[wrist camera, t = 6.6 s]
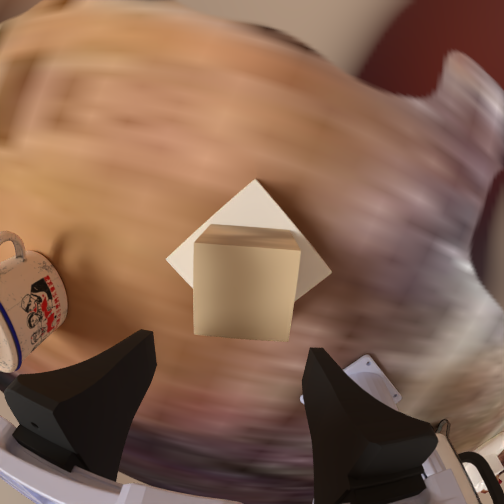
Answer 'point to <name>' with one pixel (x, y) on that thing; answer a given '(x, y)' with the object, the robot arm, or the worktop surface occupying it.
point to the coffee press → (454, 462)
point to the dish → (490, 454)
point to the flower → (498, 481)
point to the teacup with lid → (27, 303)
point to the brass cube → (244, 282)
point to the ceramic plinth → (255, 215)
